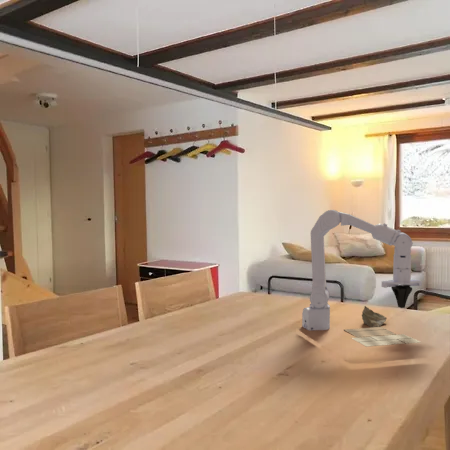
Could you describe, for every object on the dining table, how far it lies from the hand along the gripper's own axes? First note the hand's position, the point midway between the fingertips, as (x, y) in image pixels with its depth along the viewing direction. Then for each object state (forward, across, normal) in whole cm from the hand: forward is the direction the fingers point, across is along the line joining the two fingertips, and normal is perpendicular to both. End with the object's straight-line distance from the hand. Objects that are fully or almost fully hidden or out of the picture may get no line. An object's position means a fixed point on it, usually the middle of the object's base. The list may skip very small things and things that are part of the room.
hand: (401, 307), depth 170 cm
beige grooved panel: (+10, -10, -6) cm, 16 cm away
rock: (+11, -2, +13) cm, 17 cm away
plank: (+10, -10, +4) cm, 15 cm away
